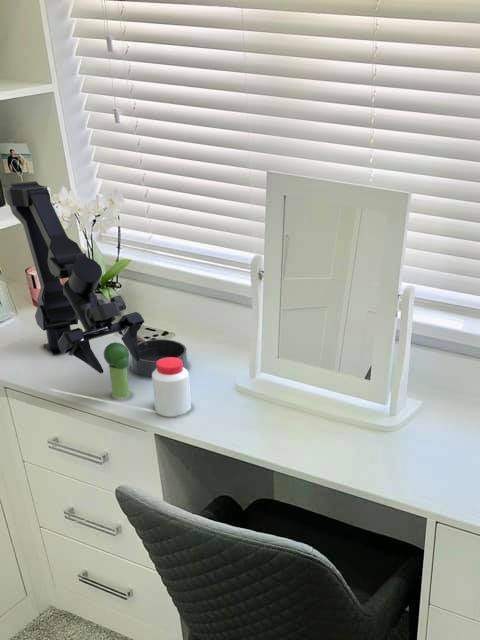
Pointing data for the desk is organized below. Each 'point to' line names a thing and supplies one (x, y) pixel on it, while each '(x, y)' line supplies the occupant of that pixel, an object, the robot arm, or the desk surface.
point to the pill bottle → (171, 387)
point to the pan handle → (141, 341)
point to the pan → (157, 355)
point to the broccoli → (118, 369)
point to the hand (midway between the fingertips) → (120, 366)
